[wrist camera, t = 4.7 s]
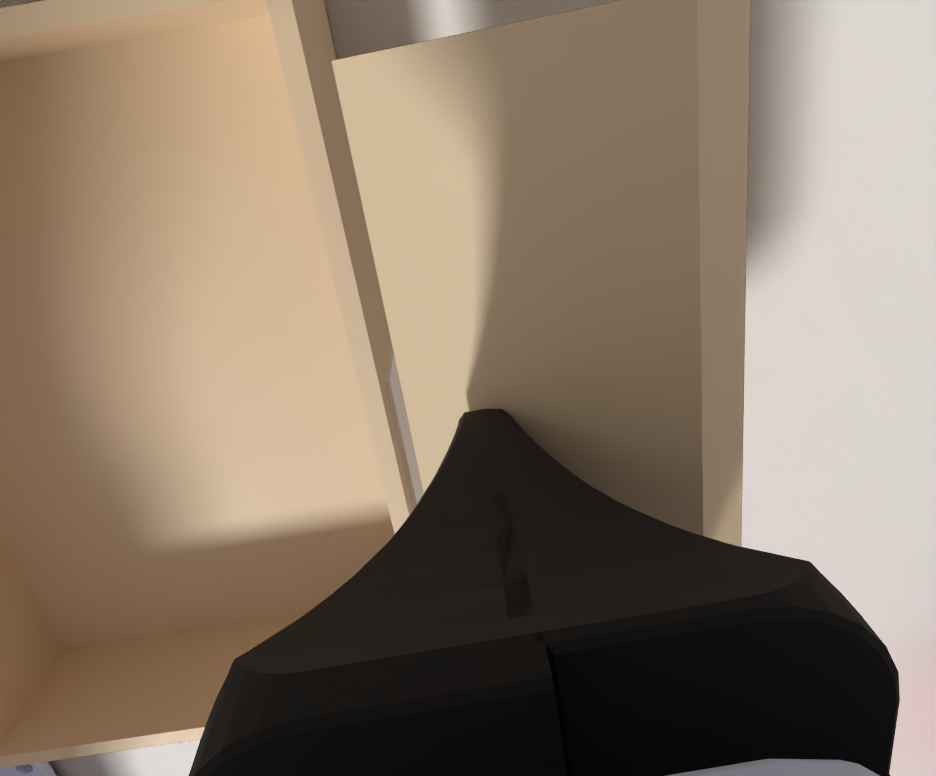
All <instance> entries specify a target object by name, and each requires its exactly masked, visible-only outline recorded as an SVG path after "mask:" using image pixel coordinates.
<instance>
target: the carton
mask: <svg viewBox="0 0 936 776" xmlns="http://www.w3.org/2000/svg"><path fill="white" fill-rule="evenodd" d="M333 60H336V55H335V50H334V45H333V41H332V36H331V31H330V26H329V22H328V17H327V12H326V7H325V3H324V0H44V1H38V2H32V3H26V4H21V5H15V6H9V7H3V8H0V769H1V768H8V767H15V766H21V765H28V764H35V763H42V762H49V761H56V760H62V759H69V758H76V757H83V756H90V755H97V754H103V753H110V752H117V751H124V750H131V749H138V748H144V747H151V746H158V745H165V744H172V743H179V742H185V741H192V740H199V739H201V737H202V734H203V731H204V728H205V725H206V723H207V720H208V718H209V715H210V713H211V710H212V708H213V705H214V702H215V700H216V698H217V696H218V693H219V691H220V689H221V687H222V685H223V683H224V681H225V679H226V677H227V675H228V673H229V670H230V668H231V665H232V663H233V661H234V659H235V658H237V657H239V656H240V655H242V654H244V653H246V652H247V651H249V650H251V649H252V648H254V647H255V646H257V645H258V644H260V643H262V642H263V641H265V640H266V639H268V638H269V637H271V636H273V635H274V634H276V633H277V632H279V631H280V630H282V629H284V628H285V627H287V626H288V625H290V624H291V623H293V622H295V621H296V620H297V619H299V618H300V617H302V616H303V615H305V614H306V613H307V612H309V611H310V610H311V609H313V608H314V607H315V606H317V605H318V604H319V603H321V602H322V601H323V600H325V599H326V598H327V597H329V596H330V595H331V594H332V593H334V592H335V591H336V590H337V589H338V588H340V587H341V586H342V585H343V584H344V583H346V582H347V581H348V580H349V579H350V578H352V577H353V576H354V575H355V574H356V573H357V572H358V571H359V570H360V569H361V568H362V567H363V566H364V565H365V564H366V563H367V562H368V561H369V560H370V559H371V558H372V557H373V556H374V555H375V554H376V553H377V552H379V551H380V550H381V549H382V548H383V547H384V546H385V545H386V544H387V543H388V542H389V540H390V539H391V538H392V537H393V536H394V534H395V533H396V532H397V531H398V530H399V528H400V527H401V526H402V525H403V523H404V522H405V521H406V519H407V518H408V517H409V515H410V514H411V512H412V511H413V510H414V508H415V507H416V505H417V504H418V502H419V501H420V499H421V497H422V496H423V494H424V492H423V487H422V482H421V478H420V473H419V468H418V464H417V459H416V454H415V449H414V445H413V440H412V435H411V431H410V426H409V421H408V417H407V412H406V407H405V403H404V398H403V393H402V389H401V384H400V379H399V375H398V370H397V365H396V361H395V356H394V351H393V347H392V342H391V337H390V333H389V328H388V323H387V318H386V314H385V309H384V304H383V300H382V295H381V290H380V286H379V281H378V276H377V272H376V267H375V262H374V258H373V253H372V248H371V244H370V239H369V234H368V230H367V225H366V220H365V216H364V211H363V206H362V201H361V197H360V192H359V187H358V183H357V178H356V173H355V169H354V164H353V159H352V155H351V150H350V145H349V141H348V136H347V131H346V127H345V122H344V117H343V113H342V108H341V103H340V99H339V94H338V89H337V84H336V80H335V75H334V70H333V66H332V61H333Z"/></svg>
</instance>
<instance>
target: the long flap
mask: <svg viewBox="0 0 936 776" xmlns="http://www.w3.org/2000/svg"><path fill="white" fill-rule="evenodd" d="M749 54H750V0H620V1H616V2H611V3H606V4H601V5H596V6H592V7H587V8H582V9H577V10H572V11H568V12H563V13H558V14H553V15H549V16H544V17H539V18H534V19H529V20H525V21H520V22H515V23H510V24H505V25H501V26H496V27H491V28H486V29H482V30H477V31H472V32H467V33H462V34H458V35H453V36H448V37H443V38H438V39H434V40H429V41H424V42H419V43H415V44H410V45H405V46H400V47H395V48H391V49H386V50H381V51H376V52H371V53H367V54H362V55H357V56H352V57H348V58H343V59H338V60H333V61H332V66H333V70H334V75H335V80H336V84H337V89H338V94H339V99H340V103H341V108H342V113H343V117H344V122H345V127H346V131H347V136H348V141H349V145H350V150H351V155H352V159H353V164H354V169H355V173H356V178H357V183H358V187H359V192H360V197H361V201H362V206H363V211H364V216H365V220H366V225H367V230H368V234H369V239H370V244H371V248H372V253H373V258H374V262H375V267H376V272H377V276H378V281H379V286H380V290H381V295H382V300H383V304H384V309H385V314H386V318H387V323H388V328H389V333H390V337H391V342H392V347H393V351H394V356H395V361H396V365H397V370H398V375H399V379H400V384H401V389H402V393H403V398H404V403H405V407H406V412H407V417H408V421H409V426H410V431H411V435H412V440H413V445H414V449H415V454H416V459H417V464H418V468H419V473H420V478H421V482H422V487H423V492H424V493H425V491H426V489H427V488H428V486H429V485H430V483H431V481H432V480H433V478H434V476H435V475H436V473H437V471H438V469H439V467H440V465H441V463H442V461H443V459H444V457H445V455H446V453H447V451H448V449H449V447H450V444H451V442H452V440H453V437H454V435H455V432H456V429H457V426H458V423H459V419H460V418H461V417H462V415H463V414H464V412H469V411H475V410H481V409H503V410H504V411H506V412H507V413H508V414H509V415H511V416H512V418H513V419H514V420H515V421H516V423H517V424H518V425H519V426H520V427H521V428H522V429H523V430H524V431H525V432H526V433H527V434H528V435H529V436H530V437H531V438H532V439H533V440H534V441H535V442H536V443H537V444H538V445H539V446H540V447H541V448H543V449H544V450H545V451H546V452H547V453H548V454H549V455H551V456H552V457H553V458H554V459H555V460H556V461H558V462H559V463H560V464H561V465H563V466H564V467H565V468H566V469H568V470H569V471H570V472H572V473H573V474H574V475H576V476H577V477H579V478H580V479H581V480H583V481H584V482H586V483H587V484H589V485H590V486H592V487H593V488H595V489H597V490H599V491H600V492H602V493H604V494H606V495H607V496H609V497H611V498H613V499H615V500H616V501H618V502H620V503H622V504H624V505H626V506H628V507H630V508H632V509H634V510H637V511H639V512H641V513H644V514H646V515H648V516H651V517H653V518H655V519H658V520H660V521H662V522H665V523H667V524H670V525H672V526H675V527H678V528H681V529H684V530H686V531H689V532H692V533H695V534H698V535H702V536H705V537H708V538H712V539H715V540H718V541H721V542H725V543H728V544H732V545H735V546H739V547H741V534H742V474H743V414H744V354H745V294H746V234H747V174H748V114H749Z"/></svg>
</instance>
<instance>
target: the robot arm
mask: <svg viewBox="0 0 936 776" xmlns="http://www.w3.org/2000/svg"><path fill="white" fill-rule="evenodd" d="M898 707H899V678H898V671H897V668H896V666H895V664H894V662H893V660H892V658H891V656H890V654H889V652H888V650H887V647H886V646H885V645H884V643H883V642H882V641H881V640H880V639H879V637H878V636H877V635H876V634H875V632H874V631H873V630H872V629H871V627H870V626H869V625H868V624H867V622H866V621H865V620H864V619H863V617H862V616H861V615H860V614H859V613H858V611H857V610H856V609H855V608H854V607H853V606H852V605H851V604H850V602H849V601H848V600H847V599H846V598H845V597H844V596H843V595H842V593H841V592H839V591H838V590H837V589H836V588H835V587H834V586H833V585H832V584H831V583H830V582H829V581H828V580H827V579H826V578H825V577H824V576H823V575H822V574H821V573H820V572H819V571H818V570H817V569H816V568H815V566H814V565H813V564H812V563H811V562H809V561H804V560H800V559H795V558H790V557H786V556H781V555H776V554H772V553H767V552H762V551H758V550H753V549H748V548H744V547H739V546H735V545H732V544H728V543H725V542H721V541H718V540H715V539H712V538H708V537H705V536H702V535H698V534H695V533H692V532H689V531H686V530H684V529H681V528H678V527H675V526H672V525H670V524H667V523H665V522H662V521H660V520H658V519H655V518H653V517H651V516H648V515H646V514H644V513H641V512H639V511H637V510H634V509H632V508H630V507H628V506H626V505H624V504H622V503H620V502H618V501H616V500H615V499H613V498H611V497H609V496H607V495H606V494H604V493H602V492H600V491H599V490H597V489H595V488H593V487H592V486H590V485H589V484H587V483H586V482H584V481H583V480H581V479H580V478H579V477H577V476H576V475H574V474H573V473H572V472H570V471H569V470H568V469H566V468H565V467H564V466H563V465H561V464H560V463H559V462H558V461H556V460H555V459H554V458H553V457H552V456H551V455H549V454H548V453H547V452H546V451H545V450H544V449H543V448H541V447H540V446H539V445H538V444H537V443H536V442H535V441H534V440H533V439H532V438H531V437H530V436H529V435H528V434H527V433H526V432H525V431H524V430H523V429H522V428H521V427H520V426H519V425H518V424H517V423H516V421H515V420H514V419H513V418H512V416H511V415H509V414H508V413H507V412H506V411H504V410H503V409H481V410H475V411H469V412H464V414H463V415H462V417H461V418H460V419H459V423H458V426H457V429H456V432H455V435H454V437H453V440H452V442H451V444H450V447H449V449H448V451H447V453H446V455H445V457H444V459H443V461H442V463H441V465H440V467H439V469H438V471H437V473H436V475H435V476H434V478H433V480H432V481H431V483H430V485H429V486H428V488H427V489H426V491H425V493H424V494H423V496H422V497H421V499H420V501H419V502H418V504H417V505H416V507H415V508H414V510H413V511H412V512H411V514H410V515H409V517H408V518H407V519H406V521H405V522H404V523H403V525H402V526H401V527H400V528H399V530H398V531H397V532H396V533H395V534H394V536H393V537H392V538H391V539H390V540H389V542H388V543H387V544H386V545H385V546H384V547H383V548H382V549H381V550H380V551H379V552H377V553H376V554H375V555H374V556H373V557H372V558H371V559H370V560H369V561H368V562H367V563H366V564H365V565H364V566H363V567H362V568H361V569H360V570H359V571H358V572H357V573H356V574H355V575H354V576H353V577H352V578H350V579H349V580H348V581H347V582H346V583H344V584H343V585H342V586H341V587H340V588H338V589H337V590H336V591H335V592H334V593H332V594H331V595H330V596H329V597H327V598H326V599H325V600H323V601H322V602H321V603H319V604H318V605H317V606H315V607H314V608H313V609H311V610H310V611H309V612H307V613H306V614H305V615H303V616H302V617H300V618H299V619H297V620H296V621H295V622H293V623H291V624H290V625H288V626H287V627H285V628H284V629H282V630H280V631H279V632H277V633H276V634H274V635H273V636H271V637H269V638H268V639H266V640H265V641H263V642H262V643H260V644H258V645H257V646H255V647H254V648H252V649H251V650H249V651H247V652H246V653H244V654H242V655H240V656H239V657H237V658H235V659H234V661H233V663H232V665H231V668H230V670H229V673H228V675H227V677H226V679H225V681H224V683H223V685H222V687H221V689H220V691H219V693H218V696H217V698H216V700H215V702H214V705H213V708H212V710H211V713H210V715H209V718H208V720H207V723H206V725H205V728H204V731H203V734H202V737H201V740H200V743H199V746H198V749H197V753H196V756H195V759H194V762H193V765H192V768H191V771H190V774H189V776H890V775H889V770H890V763H891V756H892V749H893V742H894V735H895V728H896V721H897V714H898ZM0 776H56V774H55V772H54V771H53V769H52V767H51V766H50V764H49V762H42V763H35V764H28V765H21V766H15V767H8V768H1V769H0Z"/></svg>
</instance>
